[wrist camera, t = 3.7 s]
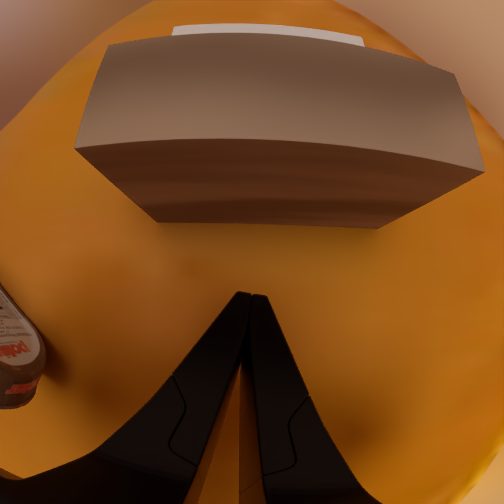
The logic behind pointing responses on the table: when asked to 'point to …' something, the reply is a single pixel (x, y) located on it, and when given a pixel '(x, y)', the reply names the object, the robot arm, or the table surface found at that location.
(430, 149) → the walnut board
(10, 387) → the tin
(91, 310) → the table surface
